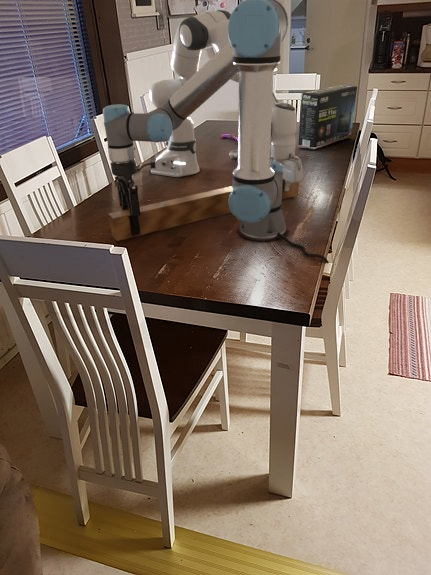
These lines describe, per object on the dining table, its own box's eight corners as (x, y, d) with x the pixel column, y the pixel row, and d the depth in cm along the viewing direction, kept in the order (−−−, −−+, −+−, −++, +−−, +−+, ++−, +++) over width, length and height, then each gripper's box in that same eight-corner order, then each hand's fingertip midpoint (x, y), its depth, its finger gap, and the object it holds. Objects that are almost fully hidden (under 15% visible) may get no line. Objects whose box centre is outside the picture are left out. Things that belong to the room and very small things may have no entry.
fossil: (256, 156, 213) (234, 135, 216) (244, 175, 219) (223, 154, 222) (274, 153, 226) (253, 134, 229) (261, 171, 233) (241, 152, 236)
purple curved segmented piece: (221, 137, 264) (220, 133, 263) (234, 136, 265) (233, 132, 264) (228, 145, 247) (228, 142, 246) (242, 144, 248) (242, 140, 247)
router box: (314, 151, 231) (318, 94, 217) (296, 148, 237) (299, 92, 224) (352, 138, 251) (358, 85, 238) (335, 135, 258) (340, 83, 245)
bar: (116, 241, 145) (113, 218, 141) (112, 236, 149) (108, 213, 145) (298, 195, 176) (299, 175, 172) (290, 192, 179) (291, 172, 175)
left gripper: (308, 156, 159) (305, 194, 166) (273, 144, 174) (272, 179, 182) (293, 159, 157) (291, 198, 164) (259, 147, 172) (259, 182, 179)
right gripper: (145, 164, 132) (154, 238, 144) (124, 152, 145) (133, 220, 157) (121, 169, 129) (131, 244, 141) (101, 156, 142) (113, 225, 154)
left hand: (281, 188), depth 173 cm, fingers closed on bar, 4 cm apart
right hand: (133, 231), depth 149 cm, fingers closed on bar, 5 cm apart
